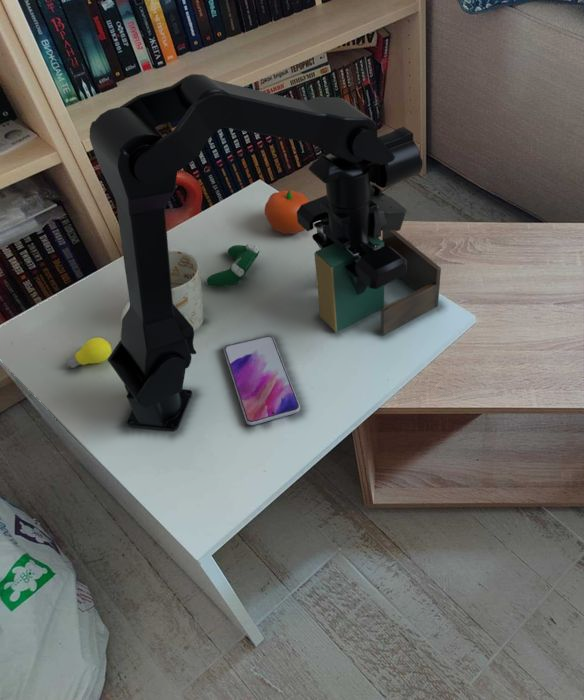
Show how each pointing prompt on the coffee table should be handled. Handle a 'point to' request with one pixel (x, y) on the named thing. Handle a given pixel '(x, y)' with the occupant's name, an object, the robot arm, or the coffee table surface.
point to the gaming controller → (235, 266)
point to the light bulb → (91, 353)
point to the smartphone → (261, 380)
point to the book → (343, 289)
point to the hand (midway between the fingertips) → (352, 284)
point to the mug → (184, 288)
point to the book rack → (411, 284)
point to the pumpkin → (285, 211)
